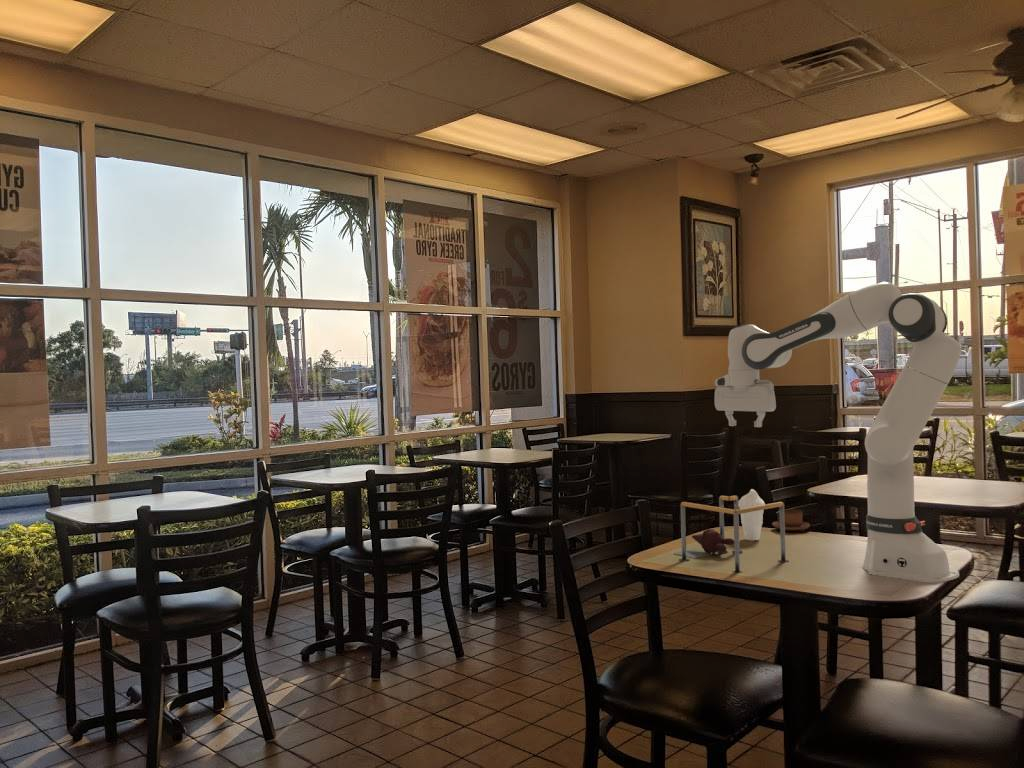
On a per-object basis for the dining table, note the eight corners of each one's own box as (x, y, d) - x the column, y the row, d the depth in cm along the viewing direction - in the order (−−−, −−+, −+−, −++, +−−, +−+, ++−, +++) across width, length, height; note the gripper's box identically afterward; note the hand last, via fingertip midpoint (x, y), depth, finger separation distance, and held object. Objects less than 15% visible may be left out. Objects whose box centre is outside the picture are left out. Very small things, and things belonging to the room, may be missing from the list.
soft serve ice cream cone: (733, 538, 256) (732, 488, 256) (756, 535, 258) (754, 486, 258) (748, 543, 248) (747, 491, 248) (771, 540, 250) (770, 489, 250)
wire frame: (788, 563, 221) (787, 502, 220) (737, 575, 209) (736, 511, 209) (729, 550, 238) (727, 494, 238) (679, 561, 226) (677, 502, 226)
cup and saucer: (769, 525, 274) (769, 508, 274) (806, 526, 272) (806, 508, 272) (775, 532, 262) (774, 514, 262) (813, 533, 260) (812, 514, 260)
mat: (713, 555, 233) (713, 553, 233) (694, 559, 228) (694, 557, 228) (692, 550, 239) (692, 549, 239) (673, 554, 235) (673, 553, 235)
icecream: (687, 553, 239) (725, 563, 226) (680, 531, 237) (718, 540, 225) (703, 541, 242) (741, 551, 230) (696, 520, 241) (734, 529, 228)
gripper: (780, 379, 230) (781, 427, 230) (724, 379, 246) (725, 424, 247) (765, 379, 226) (767, 428, 226) (710, 380, 243) (711, 425, 243)
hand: (745, 426), depth 237 cm, fingers open, 8 cm apart
